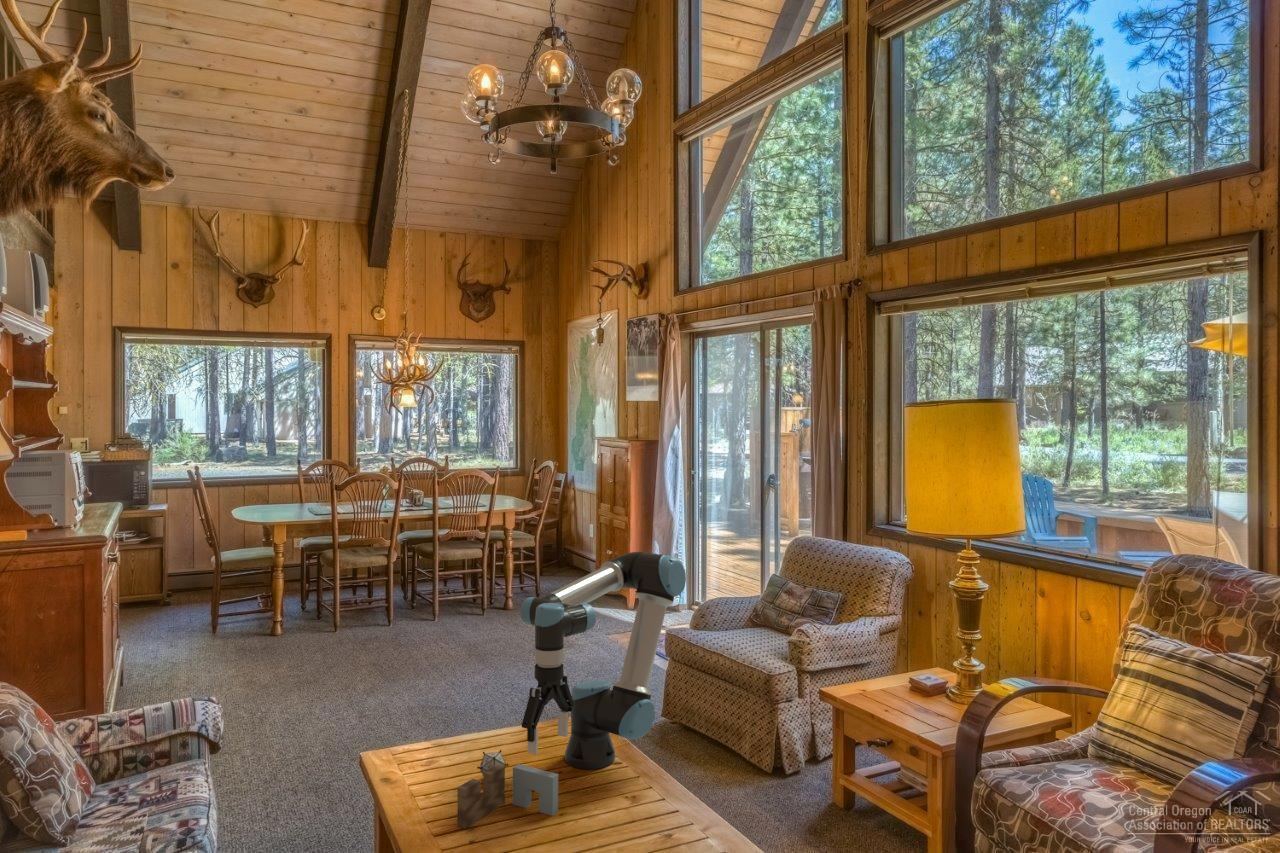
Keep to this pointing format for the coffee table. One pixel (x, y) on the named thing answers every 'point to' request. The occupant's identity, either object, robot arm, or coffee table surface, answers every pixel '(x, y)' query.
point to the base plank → (480, 796)
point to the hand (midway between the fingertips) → (548, 744)
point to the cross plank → (535, 788)
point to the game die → (491, 761)
